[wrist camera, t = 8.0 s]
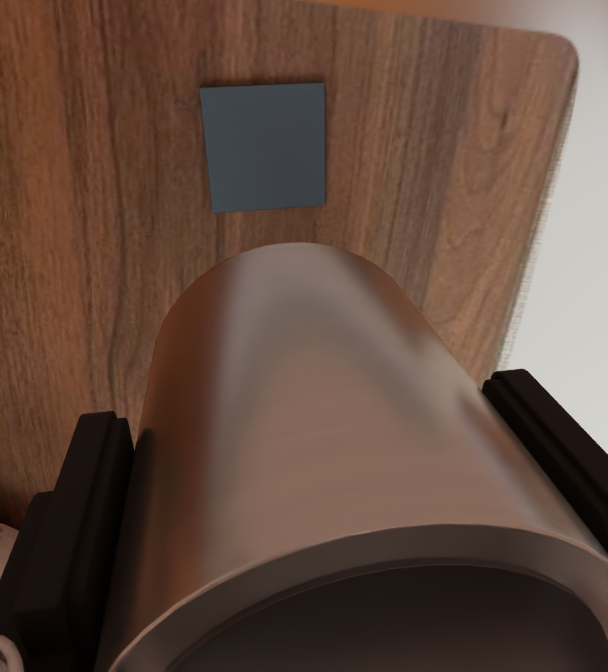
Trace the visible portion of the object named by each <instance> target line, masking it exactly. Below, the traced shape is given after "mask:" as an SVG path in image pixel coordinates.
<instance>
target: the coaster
mask: <svg viewBox="0 0 608 672" xmlns="http://www.w3.org/2000/svg"><path fill="white" fill-rule="evenodd" d="M199 90H200V99H201V109H202V118H203V127H204V137H205V146H206V155H207V165H208V174H209V183H210V192H211V202H212V211H213V213H219V212H234V211H249V210H264V209H278V208H293V207H308V206H323V205H326V195H325V93H324V82H314V83H290V84H266V85H242V86H217V87H200V88H199Z"/></svg>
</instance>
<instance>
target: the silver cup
mask: <svg viewBox="0 0 608 672" xmlns="http://www.w3.org/2000/svg"><path fill="white" fill-rule="evenodd" d="M94 672H608V553H607V552H606V551H605V549H604V548H603V547H602V546H601V544H600V543H599V542H598V540H597V539H596V538H595V537H594V535H593V534H592V533H591V531H590V530H589V529H588V528H587V526H586V525H585V524H584V522H583V521H582V520H581V519H580V517H579V516H578V515H577V513H576V512H575V511H574V510H573V508H572V507H571V506H570V504H569V503H568V502H567V500H566V499H565V498H564V497H563V495H562V494H561V493H560V491H559V490H558V489H557V488H556V486H555V485H554V484H553V482H552V481H551V480H550V479H549V477H548V476H547V475H546V473H545V472H544V471H543V470H542V468H541V467H540V466H539V464H538V463H537V462H536V461H535V459H534V458H533V457H532V455H531V454H530V453H529V452H528V450H527V449H526V448H525V446H524V445H523V444H522V442H521V441H520V440H519V439H518V437H517V436H516V435H515V433H514V432H513V431H512V430H511V428H510V427H509V426H508V424H507V423H506V422H505V421H504V419H503V418H502V417H501V415H500V414H499V413H498V412H497V410H496V409H495V408H494V406H493V405H492V404H491V403H490V401H489V400H488V399H487V397H486V396H485V395H484V394H483V392H482V391H481V390H480V388H479V387H478V386H477V385H476V383H475V382H474V381H473V379H472V378H471V377H470V375H469V374H468V373H467V372H466V370H465V369H464V368H463V366H462V365H461V364H460V363H459V361H458V360H457V359H456V357H455V356H454V355H453V354H452V352H451V351H450V350H449V348H448V347H447V346H446V345H445V343H444V342H443V341H442V339H441V338H440V337H439V336H438V334H437V333H436V332H435V330H434V329H433V328H432V327H431V325H430V324H429V323H428V321H427V320H426V319H425V317H424V316H423V315H422V314H421V312H420V311H419V310H418V308H417V307H416V306H415V305H414V303H413V302H412V301H411V299H410V298H409V297H408V296H407V294H406V293H405V292H404V290H403V289H402V288H401V287H400V286H399V285H398V284H397V283H396V281H395V280H394V279H393V278H392V277H391V276H390V275H388V274H387V273H386V272H385V271H383V270H382V269H381V268H380V267H378V266H377V265H375V264H374V263H372V262H370V261H369V260H367V259H365V258H363V257H362V256H359V255H357V254H354V253H352V252H349V251H347V250H344V249H340V248H337V247H333V246H329V245H323V244H315V243H281V244H274V245H267V246H263V247H259V248H255V249H252V250H248V251H245V252H243V253H240V254H238V255H235V256H233V257H230V258H228V259H226V260H225V261H223V262H221V263H219V264H218V265H216V266H214V267H212V268H211V269H209V270H208V271H207V272H205V273H204V274H203V275H201V276H200V277H199V278H197V279H196V280H195V281H194V282H193V283H192V284H191V285H190V286H189V287H188V288H187V289H186V290H185V291H184V292H183V293H182V294H181V295H180V297H179V298H178V299H177V300H176V302H175V303H174V304H173V306H172V307H171V309H170V310H169V312H168V314H167V316H166V317H165V319H164V321H163V323H162V325H161V328H160V330H159V333H158V336H157V338H156V342H155V347H154V351H153V356H152V361H151V367H150V372H149V377H148V383H147V388H146V393H145V399H144V404H143V409H142V415H141V420H140V425H139V431H138V436H137V442H136V447H135V452H134V458H133V463H132V468H131V474H130V479H129V484H128V490H127V495H126V500H125V506H124V511H123V517H122V522H121V527H120V533H119V538H118V543H117V549H116V554H115V559H114V565H113V570H112V575H111V581H110V586H109V591H108V597H107V602H106V608H105V613H104V618H103V624H102V629H101V634H100V640H99V645H98V650H97V656H96V661H95V666H94Z"/></svg>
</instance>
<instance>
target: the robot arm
mask: <svg viewBox="0 0 608 672" xmlns="http://www.w3.org/2000/svg"><path fill="white" fill-rule="evenodd" d="M482 392H483V394H484V395H485V396H486V397H487V399H488V400H489V401H490V403H491V404H492V405H493V406H494V408H495V409H496V410H497V412H498V413H499V414H500V415H501V417H502V418H503V419H504V421H505V422H506V423H507V424H508V426H509V427H510V428H511V430H512V431H513V432H514V433H515V435H516V436H517V437H518V439H519V440H520V441H521V442H522V444H523V445H524V446H525V448H526V449H527V450H528V452H529V453H530V454H531V455H532V457H533V458H534V459H535V461H536V462H537V463H538V464H539V466H540V467H541V468H542V470H543V471H544V472H545V473H546V475H547V476H548V477H549V479H550V480H551V481H552V482H553V484H554V485H555V486H556V488H557V489H558V490H559V491H560V493H561V494H562V495H563V497H564V498H565V499H566V500H567V502H568V503H569V504H570V506H571V507H572V508H573V510H574V511H575V512H576V513H577V515H578V516H579V517H580V519H581V520H582V521H583V522H584V524H585V525H586V526H587V528H588V529H589V530H590V531H591V533H592V534H593V535H594V537H595V538H596V539H597V540H598V542H599V543H600V544H601V546H602V547H603V548H604V549H605V551H606V552H607V553H608V454H607V453H606V452H605V451H604V450H603V449H602V448H601V447H600V446H599V445H598V444H597V443H596V442H595V441H594V440H593V439H592V438H591V437H590V436H589V434H587V432H586V431H584V429H583V428H582V427H581V426H580V425H579V424H578V423H577V422H576V421H575V420H574V419H573V418H572V417H571V416H570V415H569V414H568V413H567V412H566V411H565V410H564V408H563V407H562V406H561V405H560V404H559V403H558V402H557V401H556V400H555V399H554V398H553V397H552V396H551V395H550V394H549V393H548V392H547V391H546V390H545V389H544V388H543V387H542V386H541V385H540V384H539V382H538V381H537V380H536V379H534V377H533V376H532V375H531V374H530V373H529V372H528V371H526V370H525V369H516V370H506V371H496V372H494V373H493V375H492V376H491V379H490V380H486V381H485V382H484V384H483V388H482ZM133 458H134V447H133V442H132V438H131V433H130V428H129V424H128V421H127V418H117V416H116V414H115V412H114V411H108V412H98V413H88V414H82V415H81V416H80V418H79V420H78V423H77V426H76V428H75V431H74V434H73V437H72V440H71V443H70V445H69V448H68V451H67V454H66V457H65V460H64V463H63V465H62V468H61V471H60V474H59V477H58V480H57V482H56V485H55V488H54V491H48V492H39V493H37V494H36V495H35V496H34V497H33V499H32V500H31V502H30V505H29V507H28V510H27V512H26V515H25V517H24V520H23V522H22V525H21V527H20V530H19V533H18V535H17V538H16V540H15V543H14V545H13V548H12V550H11V553H10V555H9V558H8V561H7V563H6V566H5V568H4V571H3V573H2V576H1V578H0V672H94V666H95V661H96V656H97V650H98V645H99V640H100V634H101V629H102V624H103V618H104V613H105V608H106V602H107V597H108V591H109V586H110V581H111V575H112V570H113V565H114V559H115V554H116V549H117V543H118V538H119V533H120V527H121V522H122V517H123V511H124V506H125V500H126V495H127V490H128V484H129V479H130V474H131V468H132V463H133Z"/></svg>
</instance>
